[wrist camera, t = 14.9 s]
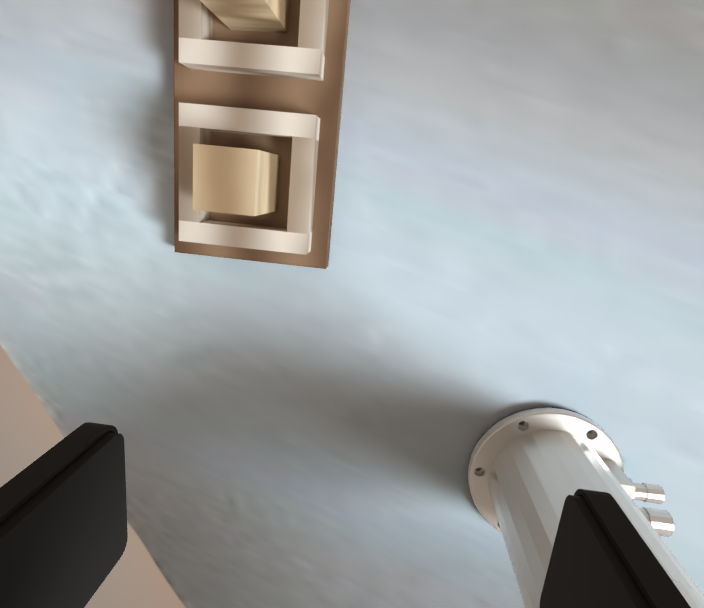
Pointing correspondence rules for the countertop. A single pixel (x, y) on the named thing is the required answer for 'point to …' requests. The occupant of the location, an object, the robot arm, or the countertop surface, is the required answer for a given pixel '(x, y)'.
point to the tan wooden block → (251, 14)
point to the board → (258, 133)
